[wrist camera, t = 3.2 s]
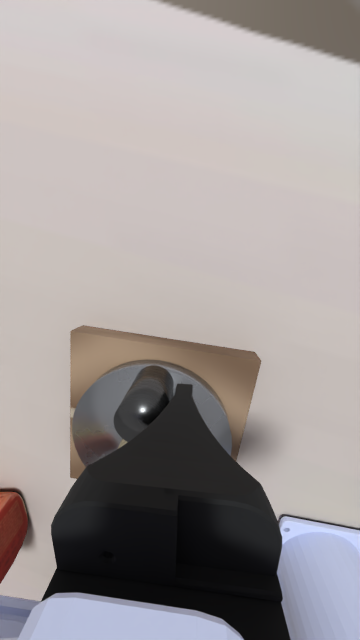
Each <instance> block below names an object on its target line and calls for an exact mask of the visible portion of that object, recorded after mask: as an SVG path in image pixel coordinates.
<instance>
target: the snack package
mask: <svg viewBox="0 0 360 640" xmlns="http://www.w3.org/2000/svg"><path fill="white" fill-rule="evenodd" d="M27 527H28V517H27V511H26V508H25V504H24V501H23V499H22V497H21V496H20V495H19V494H18V493H16V492H0V583H1V582H2V580H3V579H4V577H5V575H6V574H7V572H8V570H9V569H10V567H11V565H12V564H13V562H14V560H15V558H16V556H17V554H18V552H19V550H20V548H21V546H22V544H23V541H24V538H25V536H26V533H27Z"/></svg>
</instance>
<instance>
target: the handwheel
mask: <svg viewBox="0 0 360 640" xmlns="http://www.w3.org/2000/svg"><path fill="white" fill-rule="evenodd" d="M177 384H192V385H193V393H192V396H193V399H194V402H195V404H196V406H197V409H198V411H199V413H200V415H201V416H202V418H203V420H204V422H205V423H206V425H207V427H208V428H209V430H210V431H211V433H212V434H213V435H214V437H215V438H216V439H217V441H218V442H219V443H220V444H221V446H222V447H223V448H224V449H225V450H226V451H227V453H228V454H229V455H230V456H231V449H232V436H231V431H230V426H229V421H228V417H227V413H226V410H225V407H224V405H223V403H222V401H221V399H220V398H219V396H218V395H217V393H216V392H215V391H214V389H213V388H212V387H211V386H210V385H209V384H208V383H207V382H206V381H205V380H203V379H202V378H201V377H200V376H198V375H197V374H195V373H194V372H192V371H190V370H188V369H186V368H184V367H182V366H180V365H177V364H174V363H171V362H166V361H161V360H150V359H148V360H136V361H130V362H126V363H123V364H120V365H118V366H116V367H113V368H111V369H110V370H108V371H107V372H105V373H104V374H102V375H101V376H100V377H99V378H98V379H97V380H96V381H95V382H94V383H93V384H92V385H91V386H90V387H89V388H88V389H87V391H86V392H85V393H84V394H83V396H82V397H81V399H80V400H79V402H78V404H77V406H76V409H75V412H74V416H73V420H72V435H73V441H74V445H75V448H76V450H77V453H78V455H79V457H80V459H81V461H82V463H83V464H84V465H85V467H86V466H88V465H90V464H92V463H94V462H96V461H97V460H99V459H101V458H103V457H105V456H107V455H109V454H110V453H112V452H114V451H115V450H117V449H118V448H120V447H122V446H123V445H125V444H126V443H128V442H129V441H130V440H132V439H133V438H134V437H136V436H137V435H138V434H139V433H141V432H142V431H143V430H144V429H145V428H146V427H148V426H149V425H150V424H151V423H152V422H153V421H154V420H155V419H156V418H157V417H158V416H159V414H160V413H161V412H162V411H163V410H164V409H165V407H166V406H167V405H168V404H169V402H170V401H171V399H172V398H173V397H174V395H175V391H176V386H177Z"/></svg>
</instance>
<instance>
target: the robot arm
mask: <svg viewBox="0 0 360 640" xmlns="http://www.w3.org/2000/svg"><path fill="white" fill-rule="evenodd" d="M192 393H193V385H192V384H177V386H176V391H175V395H174V397H173V398H172V399H171V401H170V402H169V404H168V405H167V406H166V407H165V409H164V410H163V411H162V412H161V413H160V414H159V416H158V417H157V418H156V419H155V420H154V421H153V422H152V423H151V424H150V425H149V426H148V427H146V428H145V429H144V430H143V431H142V432H141V433H139V434H138V435H137V436H136V437H134V438H133V439H132V440H130V441H129V442H128V443H126V444H125V445H123V446H122V447H120V448H118V449H117V450H115V451H114V452H112V453H110V454H109V455H107V456H105V457H103V458H101V459H99V460H97V461H96V462H94V463H92V464H90V465H88V466H86V468H85V469H84V471H83V472H82V474H81V475H80V476H79V478H78V479H77V480H76V482H75V483H74V485H73V486H72V488H71V489H70V491H69V493H68V495H67V496H66V498H65V500H64V501H63V503H62V505H61V507H60V508H59V510H58V512H57V513H56V515H55V517H54V520H53V522H52V525H51V535H52V541H53V547H54V552H55V558H56V564H57V569H56V571H55V573H54V575H53V577H52V579H51V582H50V584H49V586H48V588H47V590H46V592H45V594H44V596H43V598H42V601H35V600H28V599H22V598H16V597H9V596H3V595H0V640H360V530H355V529H350V528H345V527H339V526H334V525H329V524H324V523H319V522H313V521H308V520H303V519H298V518H293V517H287V516H285V517H282V518H281V520H280V523H279V524H278V521H277V519H276V516H275V514H274V511H273V509H272V507H271V505H270V502H269V500H268V498H267V496H266V494H265V492H264V490H263V488H262V486H261V484H260V483H259V482H258V481H257V480H256V479H254V478H253V477H252V476H251V475H250V474H249V473H248V472H246V471H245V470H244V469H243V468H242V467H241V466H240V465H239V464H238V463H237V462H236V461H235V460H234V459H233V458H232V457H231V456H230V455H229V454H228V453H227V451H226V450H225V449H224V448H223V447H222V446H221V444H220V443H219V442H218V441H217V439H216V438H215V437H214V435H213V434H212V433H211V431H210V430H209V428H208V427H207V425H206V423H205V422H204V420H203V418H202V416H201V415H200V413H199V411H198V409H197V406H196V404H195V402H194V399H193V396H192Z"/></svg>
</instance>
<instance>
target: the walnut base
mask: <svg viewBox="0 0 360 640" xmlns="http://www.w3.org/2000/svg"><path fill="white" fill-rule="evenodd" d="M148 359H150V360H161V361H166V362H171V363H174V364H177V365H180V366H182V367H184V368H186V369H188V370H190V371H192V372H194V373H195V374H197V375H198V376H200V377H201V378H202V379H203V380H205V381H206V382H207V383H208V384H209V385H210V386H211V387H212V388H213V389H214V391H215V392H216V393H217V395H218V396H219V398H220V399H221V401H222V403H223V405H224V407H225V410H226V413H227V417H228V421H229V426H230V431H231V436H232V449H231V457H232V458H233V459H234V460H235V461H236V459H237V455H238V451H239V447H240V443H241V440H242V436H243V432H244V428H245V424H246V420H247V416H248V412H249V408H250V404H251V400H252V396H253V392H254V388H255V384H256V380H257V376H258V372H259V368H260V364H261V360H260V358H259V357H258V356H257V354H256V353H255V352H251V351H245V350H238V349H232V348H225V347H219V346H212V345H206V344H199V343H193V342H186V341H180V340H173V339H167V338H160V337H154V336H148V335H141V334H135V333H128V332H122V331H115V330H109V329H102V328H96V327H89V326H81V327H78V328H76V329H74V330H72V331H71V408H70V477H71V478H76V479H78V478H79V476H80V475H81V474H82V472H83V471H84V469H85V468H86V467H85V465H84V464H83V463H82V461H81V459H80V457H79V455H78V453H77V450H76V448H75V445H74V441H73V435H72V420H73V416H74V412H75V409H76V406H77V404H78V402H79V400H80V399H81V397H82V396H83V394H84V393H85V392H86V391H87V389H88V388H89V387H90V386H91V385H92V384H93V383H94V382H95V381H96V380H97V379H98V378H99V377H100V376H101V375H102V374H104V373H105V372H107V371H108V370H110V369H111V368H113V367H116V366H118V365H120V364H123V363H126V362H130V361H136V360H148Z"/></svg>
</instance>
